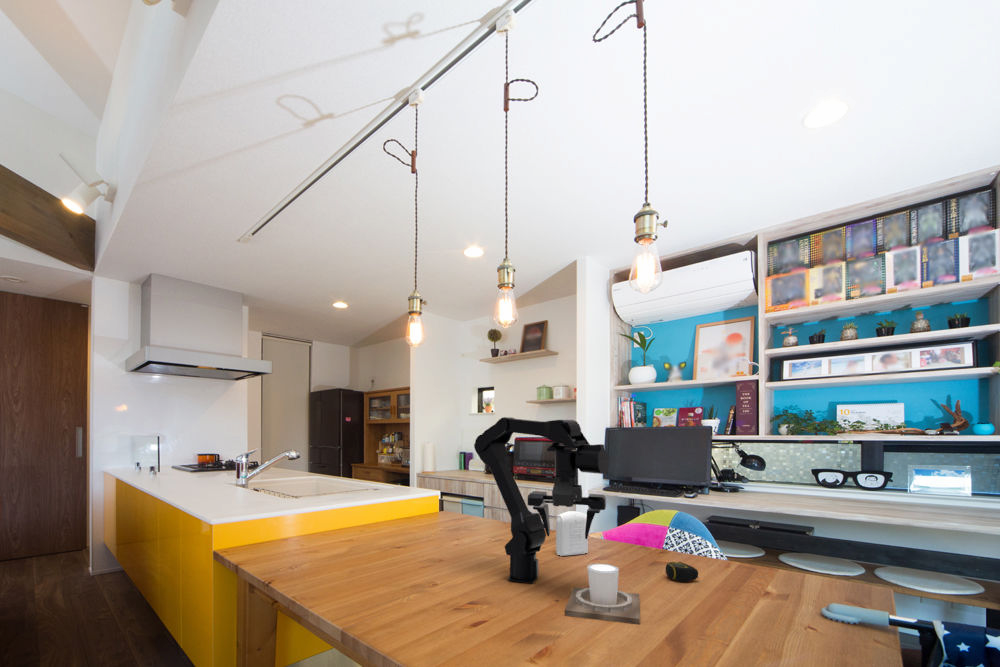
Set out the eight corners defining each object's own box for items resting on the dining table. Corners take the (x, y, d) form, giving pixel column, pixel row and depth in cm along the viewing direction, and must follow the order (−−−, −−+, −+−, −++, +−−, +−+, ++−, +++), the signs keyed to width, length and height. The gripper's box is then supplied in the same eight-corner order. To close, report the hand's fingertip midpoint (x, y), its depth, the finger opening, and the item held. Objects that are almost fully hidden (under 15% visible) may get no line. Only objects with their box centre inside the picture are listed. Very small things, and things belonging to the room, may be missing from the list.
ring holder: (564, 615, 102) (564, 605, 103) (573, 591, 116) (573, 582, 117) (639, 624, 98) (639, 613, 99) (639, 598, 112) (639, 589, 113)
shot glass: (584, 596, 111) (583, 563, 112) (614, 595, 111) (613, 562, 112) (592, 607, 104) (591, 572, 105) (623, 607, 104) (622, 572, 106)
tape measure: (700, 583, 125) (699, 567, 125) (677, 585, 123) (676, 569, 123) (682, 574, 131) (681, 560, 132) (660, 576, 129) (660, 561, 130)
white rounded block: (582, 550, 153) (581, 509, 156) (590, 554, 150) (589, 511, 152) (553, 553, 149) (553, 511, 151) (561, 557, 145) (560, 513, 148)
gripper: (522, 472, 117) (522, 542, 114) (602, 475, 112) (604, 548, 109) (532, 468, 127) (532, 531, 125) (605, 471, 123) (607, 537, 120)
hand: (567, 537), depth 119 cm, fingers open, 9 cm apart
